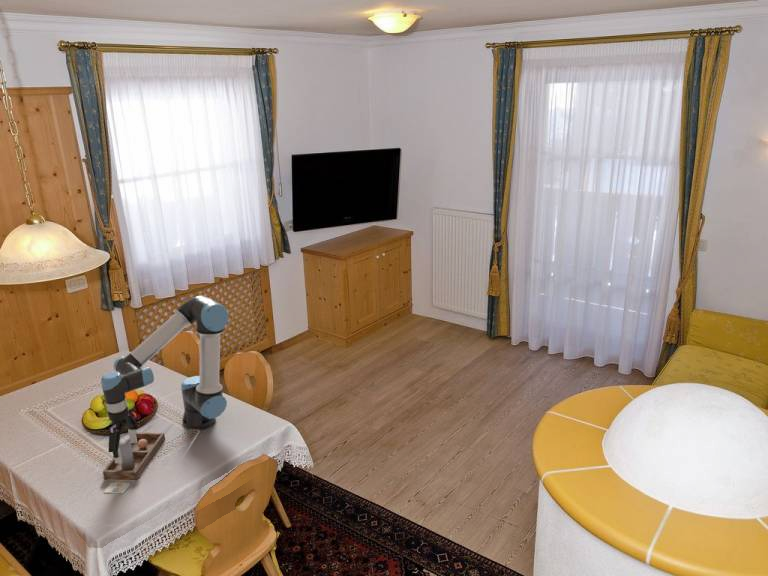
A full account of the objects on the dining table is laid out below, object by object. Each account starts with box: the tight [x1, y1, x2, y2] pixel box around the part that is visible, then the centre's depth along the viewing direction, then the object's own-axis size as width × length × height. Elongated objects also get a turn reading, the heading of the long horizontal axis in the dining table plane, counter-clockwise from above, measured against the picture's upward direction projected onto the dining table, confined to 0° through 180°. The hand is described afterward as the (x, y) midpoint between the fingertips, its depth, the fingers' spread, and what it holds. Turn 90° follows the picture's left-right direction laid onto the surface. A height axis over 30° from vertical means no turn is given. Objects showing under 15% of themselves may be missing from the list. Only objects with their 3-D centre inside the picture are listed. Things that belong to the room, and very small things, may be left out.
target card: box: [103, 481, 131, 495], centre depth 234 cm, size 8×6×1 cm
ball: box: [138, 439, 147, 448], centre depth 258 cm, size 4×4×4 cm
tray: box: [102, 431, 166, 482], centre depth 252 cm, size 14×28×4 cm, turn 177°
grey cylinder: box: [118, 439, 135, 471], centre depth 243 cm, size 5×5×12 cm
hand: (126, 452), depth 243 cm, fingers open, 13 cm apart
